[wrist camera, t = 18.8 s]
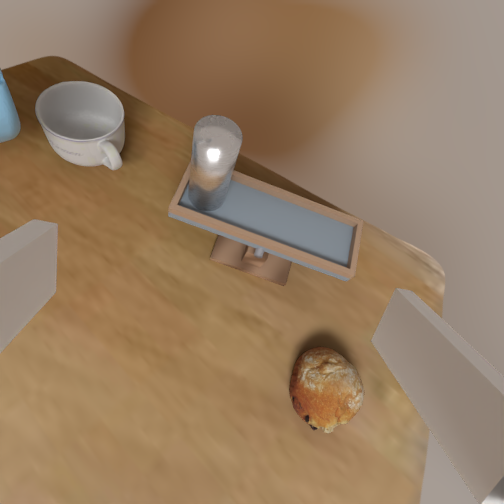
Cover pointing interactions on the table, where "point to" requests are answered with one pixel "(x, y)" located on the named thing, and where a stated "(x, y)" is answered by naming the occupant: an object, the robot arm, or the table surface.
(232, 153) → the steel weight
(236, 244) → the fulcrum
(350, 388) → the bread roll
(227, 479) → the table surface
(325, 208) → the rectangular tray
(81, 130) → the teacup
